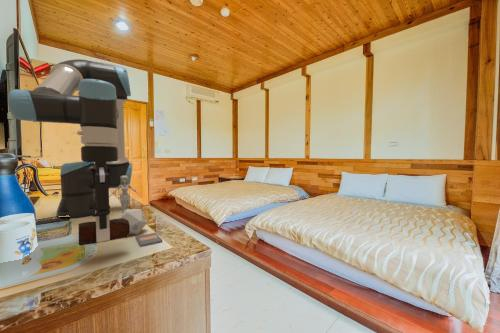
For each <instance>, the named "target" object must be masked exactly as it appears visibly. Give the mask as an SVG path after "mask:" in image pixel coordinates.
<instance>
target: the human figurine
mask: <svg viewBox="0 0 500 333" xmlns="http://www.w3.org/2000/svg"><path fill="white" fill-rule="evenodd" d="M128 182H129V180H128V176H121V185H119V187H118V188H116V189H115V190H113V191H112V193H111V194H109V198H110V197H111V196H113V195H115V193H116V192H117V191H118V190H121V192H122V193H120V194H119V201H120V205H121V215H122V214H123V213H124V212H125V211H126V210H127V209H130V208H129V206H130V200H131V195H130V193H128V191H129V189H131V190H132V191H133V192H135V193H136V194H137V195H139V196H140V197H142V195H141V194H140V193H139V192H138V191H137V190H136V189H134V188H133V187H132V186H131V185H129V184H128Z"/></svg>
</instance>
